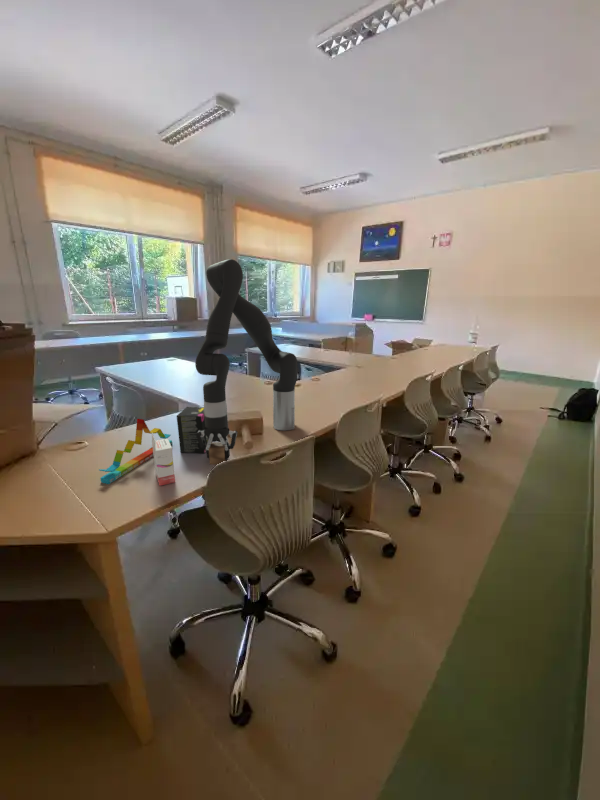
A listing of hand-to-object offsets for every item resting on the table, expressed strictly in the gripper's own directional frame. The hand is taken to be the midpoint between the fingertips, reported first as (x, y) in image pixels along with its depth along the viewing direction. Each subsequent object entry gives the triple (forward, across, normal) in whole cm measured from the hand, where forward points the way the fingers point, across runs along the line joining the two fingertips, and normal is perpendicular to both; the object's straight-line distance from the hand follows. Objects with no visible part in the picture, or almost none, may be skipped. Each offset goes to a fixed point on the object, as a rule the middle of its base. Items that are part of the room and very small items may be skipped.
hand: (218, 458), depth 118 cm
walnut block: (+1, 0, 0) cm, 1 cm away
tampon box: (+1, +11, -11) cm, 16 cm away
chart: (+1, +27, +1) cm, 27 cm away
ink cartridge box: (+1, +14, +12) cm, 18 cm away
